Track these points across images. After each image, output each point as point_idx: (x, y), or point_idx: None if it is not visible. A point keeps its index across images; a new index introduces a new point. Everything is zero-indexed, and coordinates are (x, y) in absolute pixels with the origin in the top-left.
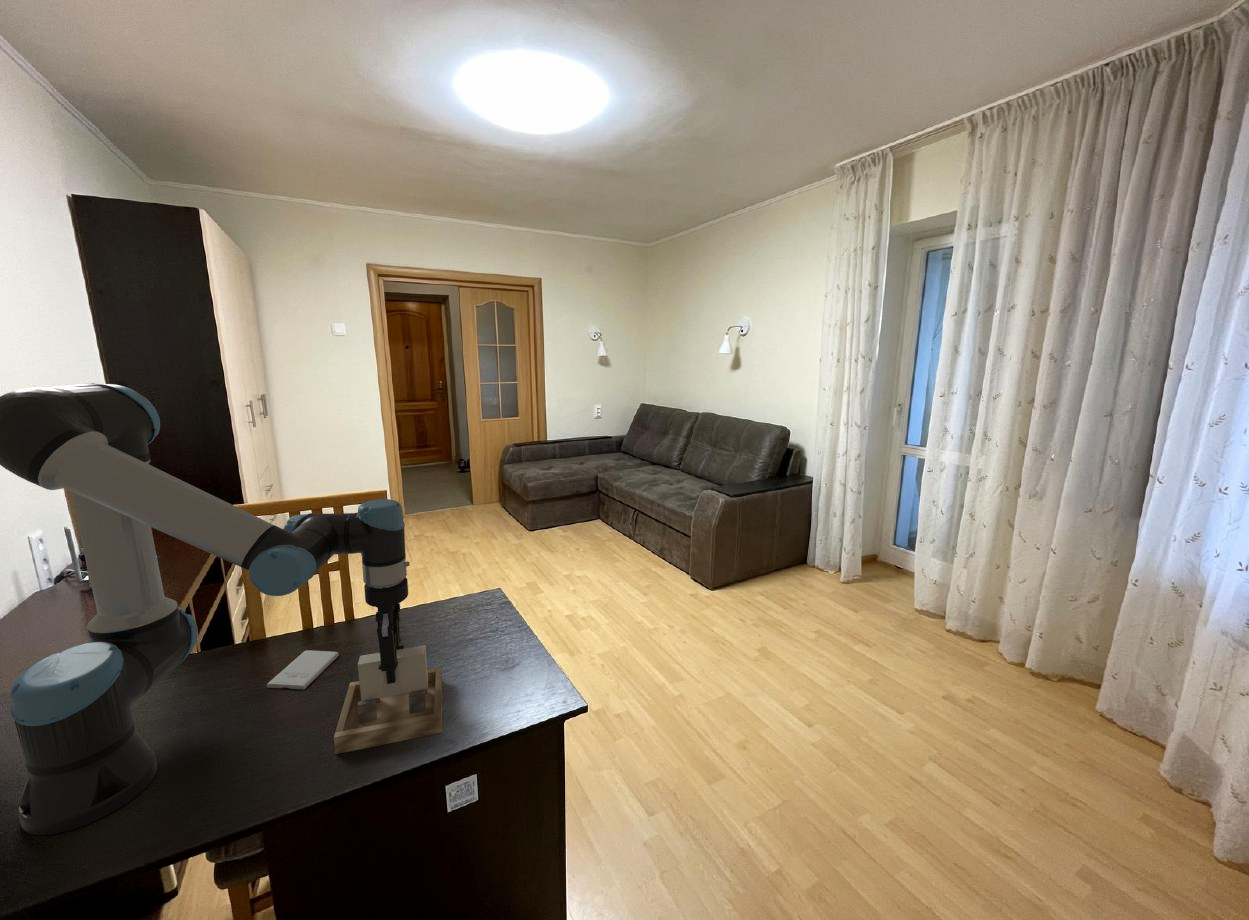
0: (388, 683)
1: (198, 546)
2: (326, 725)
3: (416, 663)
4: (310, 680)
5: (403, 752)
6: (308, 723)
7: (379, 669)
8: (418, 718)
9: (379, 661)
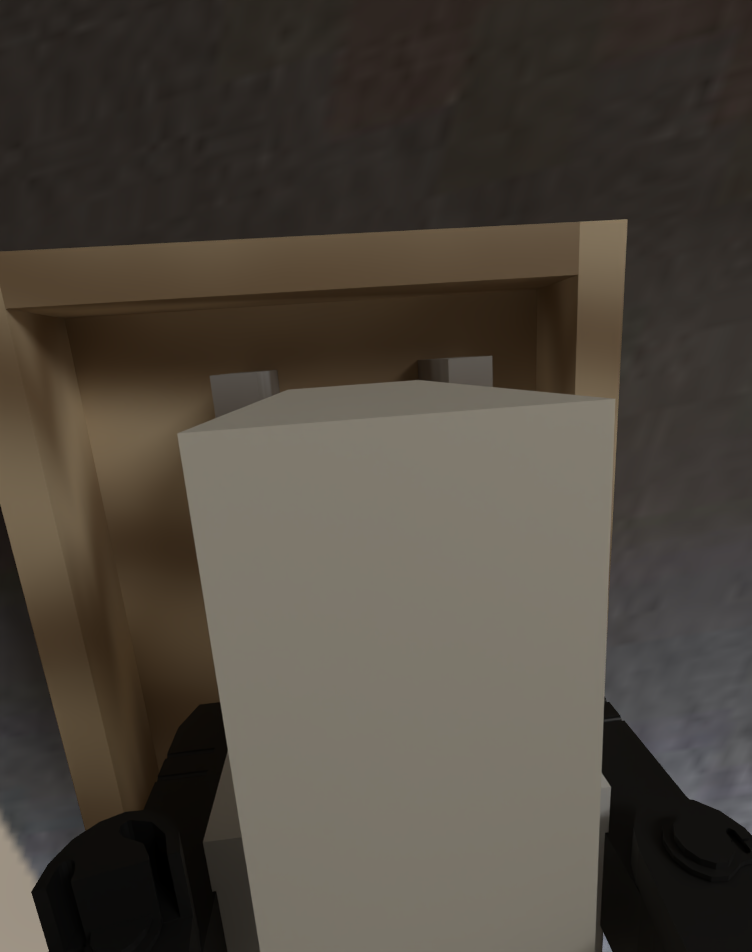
0: (200, 718)
1: None
2: (310, 150)
3: None
4: None
5: (17, 642)
6: (356, 9)
7: (75, 850)
8: (96, 773)
9: (255, 870)
